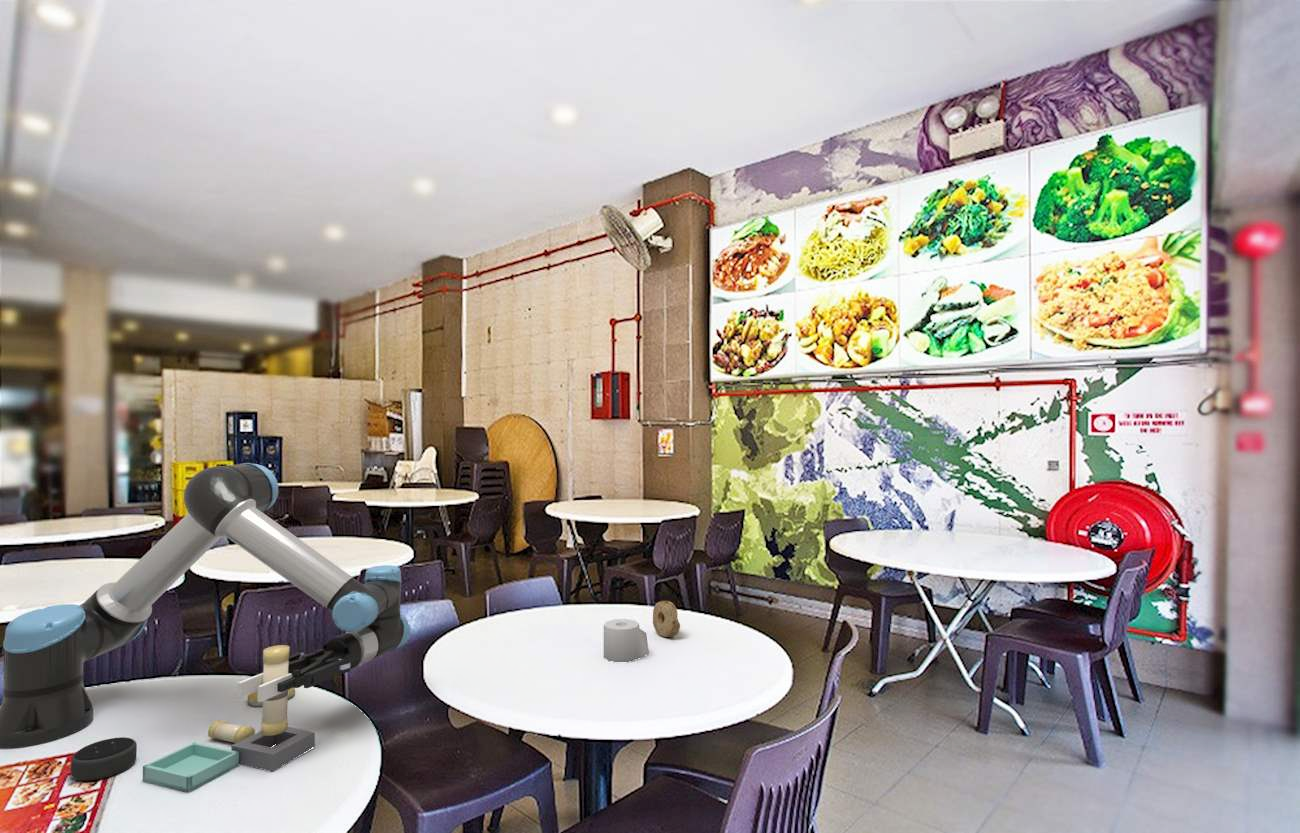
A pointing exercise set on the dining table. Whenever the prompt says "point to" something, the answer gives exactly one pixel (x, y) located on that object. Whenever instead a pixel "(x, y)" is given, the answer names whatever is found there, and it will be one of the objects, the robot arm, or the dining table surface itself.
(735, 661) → the dining table surface
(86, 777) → the smart speaker
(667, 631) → the stone disc
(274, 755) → the socket block
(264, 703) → the fuse
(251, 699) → the bread roll
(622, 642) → the toilet tissue
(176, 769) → the parts tray
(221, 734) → the fuse
